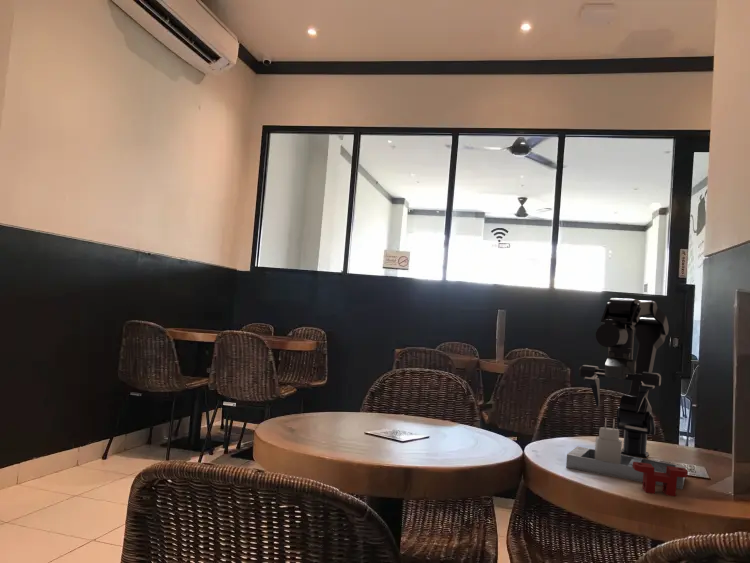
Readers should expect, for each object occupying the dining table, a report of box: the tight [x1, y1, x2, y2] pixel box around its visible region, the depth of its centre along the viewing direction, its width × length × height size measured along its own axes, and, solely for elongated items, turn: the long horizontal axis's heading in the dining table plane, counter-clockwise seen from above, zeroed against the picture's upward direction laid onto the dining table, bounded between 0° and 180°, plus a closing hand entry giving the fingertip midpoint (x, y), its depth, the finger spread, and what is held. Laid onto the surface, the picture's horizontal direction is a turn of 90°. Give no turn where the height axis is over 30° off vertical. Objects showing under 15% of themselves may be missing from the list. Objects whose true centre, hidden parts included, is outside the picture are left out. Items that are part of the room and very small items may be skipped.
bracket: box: [633, 462, 689, 497], centre depth 118 cm, size 3×6×10 cm
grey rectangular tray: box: [565, 445, 687, 490], centre depth 134 cm, size 12×24×3 cm, turn 59°
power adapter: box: [594, 417, 623, 464], centre depth 136 cm, size 3×5×12 cm, turn 81°
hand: (617, 409), depth 146 cm, fingers open, 9 cm apart
